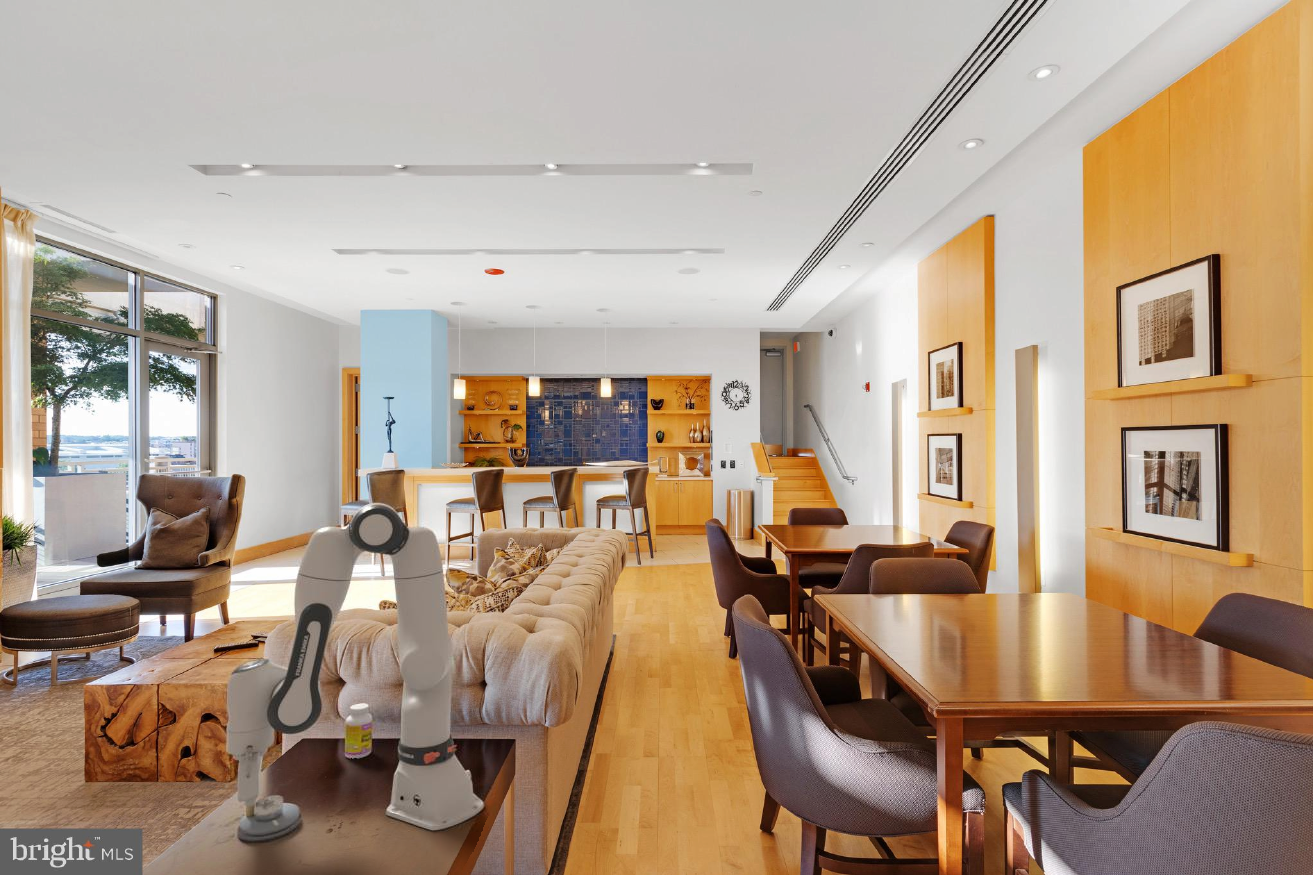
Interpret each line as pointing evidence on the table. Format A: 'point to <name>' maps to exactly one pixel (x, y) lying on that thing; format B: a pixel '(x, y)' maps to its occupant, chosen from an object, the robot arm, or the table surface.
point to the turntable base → (268, 837)
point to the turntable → (257, 828)
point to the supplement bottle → (358, 732)
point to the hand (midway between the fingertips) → (250, 803)
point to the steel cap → (269, 809)
